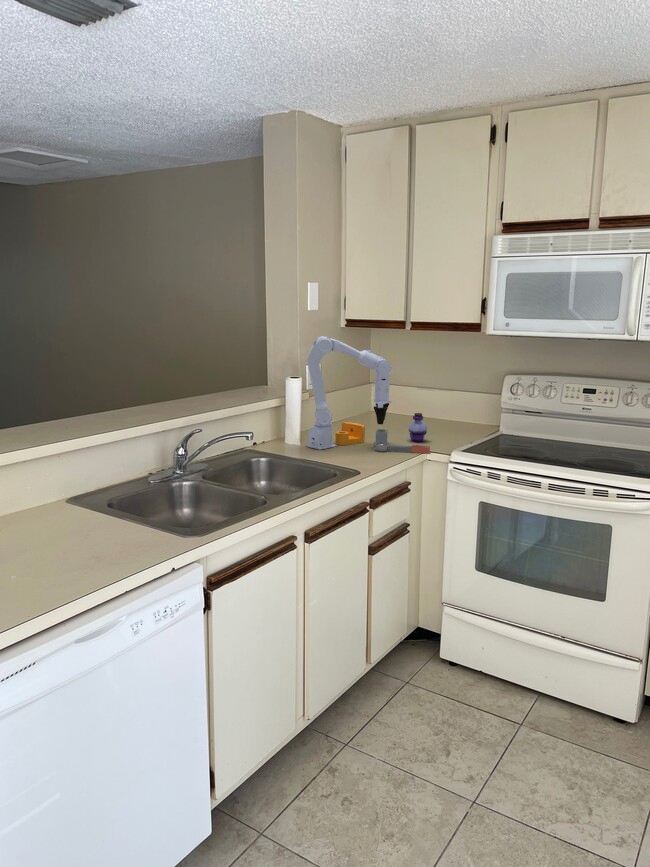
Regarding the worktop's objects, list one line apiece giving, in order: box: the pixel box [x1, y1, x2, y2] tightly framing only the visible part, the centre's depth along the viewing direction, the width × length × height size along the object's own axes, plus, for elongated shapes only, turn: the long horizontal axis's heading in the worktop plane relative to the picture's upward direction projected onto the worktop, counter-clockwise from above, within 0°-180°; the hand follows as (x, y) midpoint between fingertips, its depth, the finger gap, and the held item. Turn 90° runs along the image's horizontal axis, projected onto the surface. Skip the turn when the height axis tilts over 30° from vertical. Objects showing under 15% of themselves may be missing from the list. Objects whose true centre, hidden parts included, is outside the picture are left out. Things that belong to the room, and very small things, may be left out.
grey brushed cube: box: [375, 428, 389, 444], centre depth 264 cm, size 4×4×5 cm
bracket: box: [334, 421, 366, 446], centre depth 277 cm, size 11×7×12 cm
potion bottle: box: [407, 412, 429, 444], centre depth 280 cm, size 9×9×12 cm
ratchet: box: [373, 441, 431, 455], centre depth 263 cm, size 22×6×6 cm, turn 81°
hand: (381, 422), depth 269 cm, fingers open, 7 cm apart
